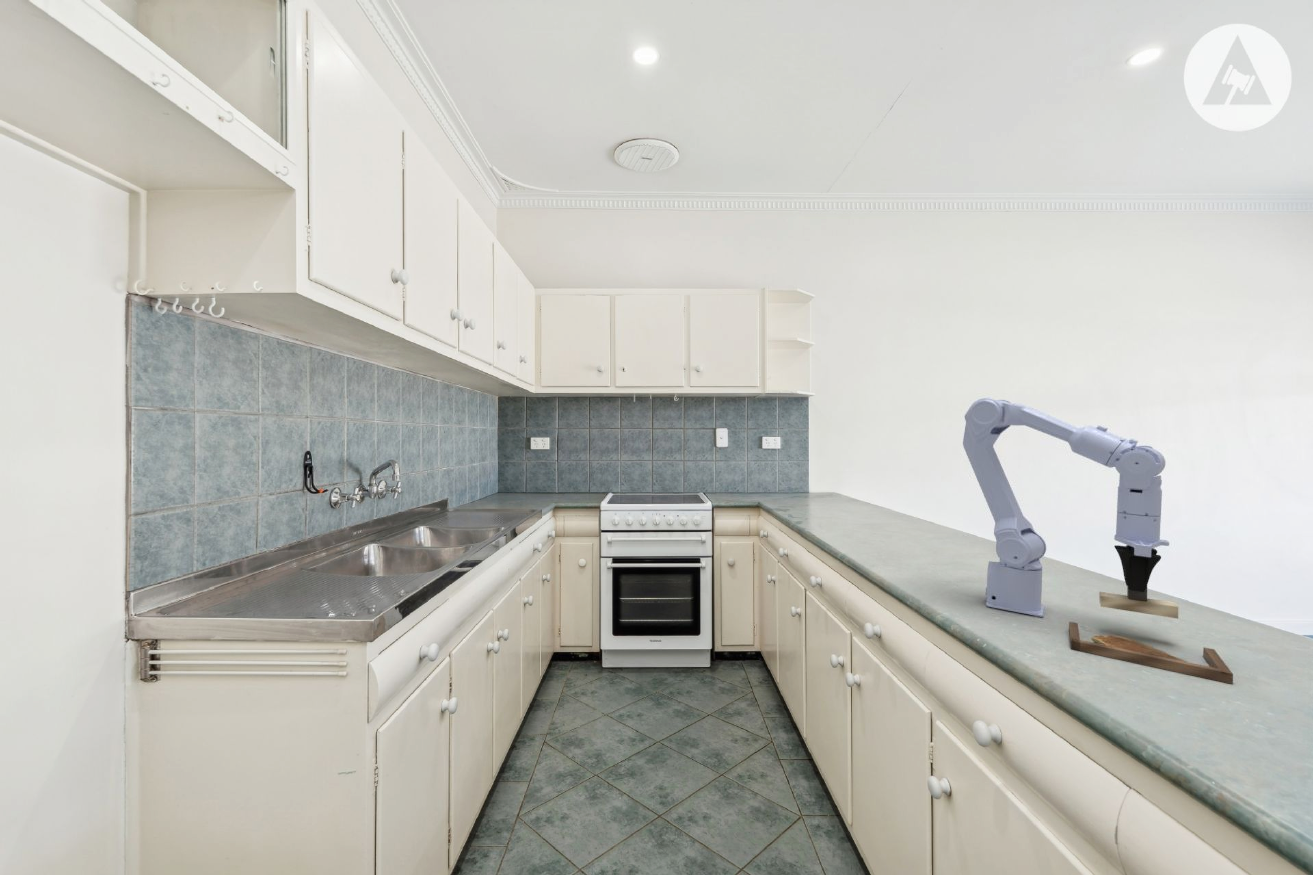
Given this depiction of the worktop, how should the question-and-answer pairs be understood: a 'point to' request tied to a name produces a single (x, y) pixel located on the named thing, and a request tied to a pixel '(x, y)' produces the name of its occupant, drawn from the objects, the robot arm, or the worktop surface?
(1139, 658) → the walnut frame
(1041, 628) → the worktop surface
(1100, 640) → the shard
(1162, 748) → the worktop surface
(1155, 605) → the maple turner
